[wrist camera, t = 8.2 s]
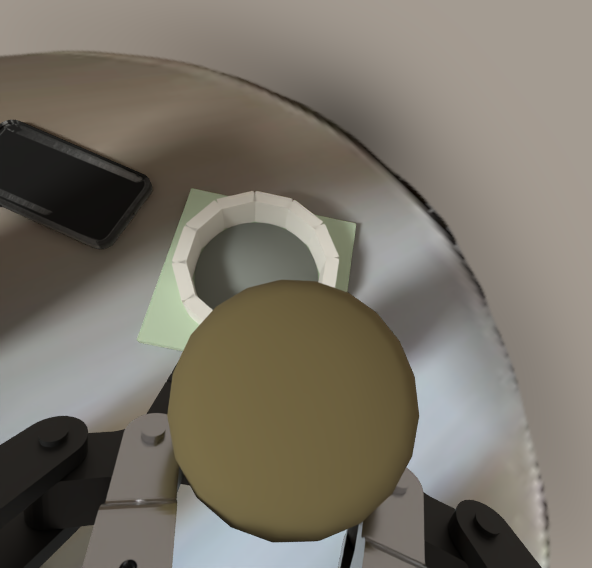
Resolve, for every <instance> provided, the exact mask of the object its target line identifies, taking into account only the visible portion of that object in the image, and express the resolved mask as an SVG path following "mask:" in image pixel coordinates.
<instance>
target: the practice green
mask: <svg viewBox="0 0 592 568" xmlns="http://www.w3.org/2000/svg"><path fill="white" fill-rule="evenodd" d="M355 229H356V223H351V222H347V221H342V220H337V219H333V218H328V217H323V216H319V215H314V214H312V213H311V212H310V211H308V210H307V209H306V208H305V207H303V206H302V205H301V204H299V203H298V202H297V201H296V200H294V201H293V202H292V198H287V197H282V196H278V195H273V194H269V193H264V192H259V191H256V192H255V194H254V192H253V191H250V192H245V193H241V194H237V195H232V196H226V195H221V194H217V193H212V192H207V191H203V190H198V189H193V188H191V191H190V194H189V196H188V199H187V202H186V205H185V207H184V210H183V213H182V216H181V219H180V221H179V224H178V227H177V230H176V232H175V235H174V238H173V241H172V243H171V246H170V249H169V252H168V255H167V257H166V260H165V263H164V266H163V268H162V271H161V274H160V277H159V280H158V282H157V285H156V288H155V291H154V293H153V296H152V299H151V302H150V305H149V307H148V310H147V313H146V316H145V318H144V321H143V324H142V327H141V330H140V332H139V335H138V338H137V341H138V342H140V343H144V344H149V345H154V346H159V347H164V348H169V349H174V350H179V351H184V348H185V346H186V344H187V342H188V340H189V338H190V335H191V334H192V333H193V332H194V331H195V330H196V328H197V327H198V326H199V325H200V324H201V323H202V322H203V321H204V320H205V318H206V317H207V316H208V315H209V314H210V313H211V312H212V311H213V310H214V308H215V307H216V306H218V305H220V304H221V303H223V302H225V301H226V300H228V299H230V298H231V297H233V296H235V295H236V294H238V293H240V292H241V291H243V290H245V289H246V288H249V287H253V286H257V285H261V284H265V283H269V282H273V281H277V280H301V281H316V282H319V283H322V284H325V285H328V286H331V287H334V288H336V289H339V290H342V291H345V292H347V290H348V282H349V275H350V267H351V259H352V252H353V244H354V237H355Z"/></svg>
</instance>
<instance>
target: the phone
mask: <svg viewBox="0 0 592 568" xmlns="http://www.w3.org/2000/svg"><path fill="white" fill-rule="evenodd" d="M151 192H152V185H151V182H150V180H149V178H148V177H147V176H146V175H144V174H142V173H139V172H137V171H135V170H132V169H130V168H128V167H125V166H123V165H121V164H118V163H116V162H114V161H111V160H109V159H107V158H104V157H102V156H100V155H97V154H95V153H93V152H91V151H88V150H86V149H84V148H81V147H79V146H77V145H74V144H72V143H70V142H67V141H65V140H63V139H60V138H58V137H56V136H53V135H51V134H49V133H46V132H44V131H42V130H39V129H37V128H35V127H32V126H30V125H28V124H25V123H23V122H21V121H18V120H7V121H4V122H2V123H1V124H0V207H4V208H6V209H9V210H11V211H13V212H15V213H18V214H20V215H22V216H24V217H27V218H29V219H31V220H33V221H35V222H38V223H40V224H42V225H44V226H47V227H49V228H51V229H53V230H56V231H58V232H60V233H62V234H65V235H67V236H69V237H71V238H74V239H76V240H78V241H80V242H83V243H85V244H87V245H89V246H92V247H94V248H97V249H104V248H108V247H110V246H111V245H113V244H114V243H115V241H116V240H117V239H118V237H119V236H120V235H121V233H122V232H123V231H124V229H125V228H126V226H127V225H128V224H129V222H130V221H131V220H132V218H133V217H134V216H135V214H136V213H137V212H138V210H139V209H140V207H141V206H142V205H143V203H144V202H145V201H146V199H147V198H148V197H149V195H150V194H151ZM132 214H133V215H132ZM131 215H132V216H131ZM130 216H131V217H130ZM129 218H130V219H129ZM128 219H129V220H128ZM127 220H128V221H127ZM118 234H119V235H118Z"/></svg>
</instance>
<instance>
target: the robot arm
mask: <svg viewBox="0 0 592 568" xmlns="http://www.w3.org/2000/svg"><path fill="white" fill-rule="evenodd" d="M177 364H178V363H177ZM176 366H177V365H176ZM176 366H175V368H176ZM175 368H174V370H175ZM174 370H173V371H172V374H171V375H170V376H169V378H168V380H167V382H166V383H165V385H164V386H163V388H162V389H161V391H160V393H159V394H158V396H157V398H156V399H155V401H154V403H153V404H152V406H151V408H150V409H149V411H148V412H147V414H146V415H142V416H140V417H138V418H136V419H134V420H133V421H132V422H130V423H129V425H128V426H127V427H126V429H124V430H120V431H114V432H100V433H88V429H87V426H86V424H85V423H84V422H83V421H81V420H80V419H77V418H74V417H70V416H57V417H51V418H47V419H44V420H42V421H39V422H37V423H35V424H33V425H32V426H30V427H29V428H27V429H25V430H24V431H22V432H20V433H19V434H17V435H16V436H14V437H12V438H11V439H9V440H8V441H6V442H4V443H3V444H1V445H0V568H39V567H40V566H41V565H42V564H43V563H44V562H46V561H47V560H48V559H49V558H50V557H51V556H52V555H53V554H54V553H55V552H56V551H57V550H58V549H59V548H60V547H61V546H62V545H63V544H64V543H65V542H66V541H67V540H68V539H69V538H70V537H71V536H72V535H73V534H74V533H75V532H76V531H77V530H78V529H79V528H80V526H87V525H94V527H93V531H92V535H91V538H90V542H89V545H88V549H87V553H86V556H85V560H84V563H83V567H82V568H172V561H173V548H174V536H175V524H176V511H177V500H176V498H177V492H178V489H179V487H180V484H185V485H190V484H189V483H188V481H187V479H186V477H185V475H184V474H183V472H182V470H181V468H180V466H179V465H178V463H177V461H176V459H175V455H174V450H173V444H172V439H171V434H170V428H169V423H168V417H167V414H168V406H169V399H170V391H171V383H172V376H173V372H174ZM338 568H541V566H540V565H539V564H538V562H537V561H536V560H535V559H534V557H533V556H532V555H531V553H530V552H529V551H528V550H527V548H526V547H525V546H524V544H523V543H522V542H521V541H520V539H519V538H518V537H517V535H516V534H515V533H514V532H513V530H512V529H511V528H510V526H509V525H508V524H507V523H506V521H505V520H504V519H503V518H502V517H501V516H500V515H499V514H498V513H497V512H495V511H494V510H493V509H491V508H490V507H488V506H487V505H485V504H483V503H480V502H478V501H474V500H464V501H462V502H460V503H459V504H458V506H457V507H456V509H454V508H452V507H450V506H448V505H446V504H444V503H442V502H440V501H438V500H436V499H434V498H432V497H430V496H428V495H427V494H425V493H424V492H423V488H422V485H421V483H420V481H419V480H418V478H417V477H416V476H415V475H414V474H413V473H412V472H411V471H410V470H409V469H408V468H406V469H405V471H404V473H403V474H402V476H401V478H400V480H399V482H398V484H397V486H396V488H395V490H394V492H393V493H392V495H390V496H389V497H388V498H387V499H386V500H385V501H384V502H383V503H382V504H381V505H380V506H379V507H378V508H377V509H376V510H374V511H373V512H372V513H371V514H370V515H369V516H368V517H367V518H366V519H365V520H364V521H363V522H362V523H360V524H358V525H356V526H353V527H351V528H349V529H347V531H346V533H345V536H344V539H343V543H342V548H341V553H340V558H339V563H338Z"/></svg>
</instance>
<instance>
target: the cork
mask: <svg viewBox="0 0 592 568" xmlns="http://www.w3.org/2000/svg"><path fill="white" fill-rule="evenodd" d="M167 417H168V423H169V428H170V434H171V439H172V444H173V450H174V455H175V459H176V461H177V463H178V465H179V466H180V468H181V470H182V472H183V474H184V475H185V477H186V479H187V481H188V483H189V484H190V486H191V488H192V490H193V492H194V493H195V495H196V497H197V498H198V499H199V500H200V501H201V502H202V503H204V504H205V505H206V506H207V507H208V508H209V509H211V510H212V511H213V512H214V513H215V514H216V515H217V516H219V517H220V518H221V519H222V520H223V521H224V522H225V523H227V524H228V525H229V526H230V527H232V528H235V529H237V530H240V531H243V532H246V533H248V534H251V535H254V536H257V537H259V538H262V539H265V540H267V541H270V542H305V541H320V540H322V539H325V538H327V537H330V536H332V535H334V534H337V533H339V532H341V531H344V530H346V529H349V528H351V527H353V526H356V525H358V524H360V523H362V522H363V521H364V520H365V519H366V518H367V517H368V516H369V515H370V514H371V513H372V512H373V511H374V510H376V509H377V508H378V507H379V506H380V505H381V504H382V503H383V502H384V501H385V500H386V499H387V498H388V497H389V496H390V495H392V493H393V492H394V490H395V488H396V486H397V484H398V482H399V480H400V478H401V476H402V474H403V473H404V471H405V469H406V467H407V465H408V463H409V461H410V459H411V457H412V454H413V448H414V442H415V437H416V431H417V425H418V420H419V410H418V402H417V393H416V385H415V376H414V374H413V372H412V369H411V367H410V365H409V362H408V360H407V357H406V355H405V353H404V350H403V348H402V346H401V343H400V341H399V340H398V339H397V337H396V336H395V335H394V334H393V332H392V331H391V330H390V329H389V327H388V326H387V325H386V324H385V322H384V321H383V320H382V319H381V317H380V316H379V315H378V314H377V313H376V312H375V311H373V310H372V309H371V308H369V307H368V306H366V305H365V304H364V303H362V302H361V301H359V300H358V299H357V298H355V297H354V296H352V295H351V294H349V293H348V292H345V291H342V290H339V289H336V288H334V287H331V286H328V285H325V284H322V283H319V282H316V281H301V280H277V281H273V282H269V283H265V284H261V285H257V286H253V287H249V288H246V289H245V290H243V291H241V292H240V293H238V294H236V295H235V296H233V297H231V298H230V299H228V300H226V301H225V302H223V303H221V304H220V305H218V306H216V307H215V308H214V310H213V311H212V312H211V313H210V314H209V315H208V316H207V317H206V318H205V320H204V321H203V322H202V323H201V324H200V325H199V326H198V327H197V328H196V330H195V331H194V332H193V333H192V334H191V335H190V338H189V340H188V342H187V344H186V346H185V348H184V351H183V353H182V355H181V357H180V359H179V361H178V364H177V366H176V368H175V370H174V372H173V376H172V383H171V391H170V399H169V406H168V414H167Z"/></svg>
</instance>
